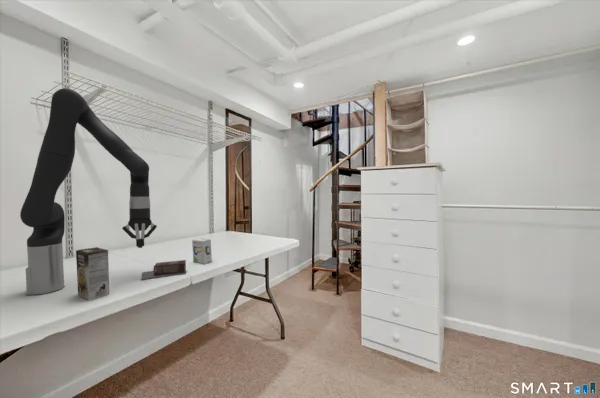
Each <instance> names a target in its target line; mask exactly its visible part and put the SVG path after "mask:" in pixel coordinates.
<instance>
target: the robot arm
mask: <svg viewBox="0 0 600 398" xmlns="http://www.w3.org/2000/svg"><path fill="white" fill-rule="evenodd" d="M50 102H51V103H50V110H49V112H50V113H49V119H48V124H47V127H46V129H45V133H44V136H43V140H42V143H41V146H40V148H39V153H38V157H37V160H36V161H37V162H36V165H35V169H34V173H33V177H32V179H31V184H30V188H29V189H28V192H27V194H26V197H25V198H24V202H23V204H22V207H21V210H20V215H19V217H20V220H21V222H22V223H23V224H24V225H25V226H27V227H30V228H33V230H32V233H31V235H29V236H28V238H27V239H26V249H27V250H26V253H27V267H26V268H25V284H26V296H30V295H31V296H32V295H35V296H36V295H37V296H38V295H44V294H49V293H53V292H56V291H58V290H61V289H64V287H65V277H64V276H65V274H64V273H65V270H64V269H65V268H64V253H63V252H64V251H63V249H64V248H63V237H64V236H65V235H64V234H65V227H66V225H65V224H66V223H65V219H66V218H65V211H64V208H63V207H62V205H61V204H60V203H58V202H56V201H55V198H56V195H57V192H58V190H59V188H60V186H61V185H62V183H63V182H64V181H65V179H66V178H67V177H68V175H69V174H70V172H71V170H72V167H73V163H74V159H75V154H76V137H75V136H76V128H77V124H78V125H80V126H81V127H82V128H83V129H85V130H86V131H87V132H88V133H89V134H91V136H92V137H93V138H94V139H95V140H96V141H97V142H98V143H99V145H101V146H102V147H103V149H104V150H106V151H107V152H108V153H109V154H110V155H111V156H112V157H113V158H115V159H116V160H117V161H118V162H120V163H121V164H122V165H123V166H124V167H125V168H126V169H127V170H128V171H129V176H130V185H129V207H128V209H129V210H128V211H129V220H128V222H127V224H126V225H124V226H123V227H122V228H121V229H122V230H123V232H125V233H126V234H127V235H128V236H129V237H130V238H131V239H135V240H136V241H135V242H136V243H135V245H136V247H137V248H138V249H142V248H143V247H144V246H145V239H146V238H149V237H150V235H152V233H153V232H154V231H155V230H156V228H157V227H158V226H157V224H154V223H153V222H152V220H151V198H150V186H149V182H150V181H149V175H150V173H149V172H150V166H149V164H148V163H147V162H146V161H145V159H143V158H142V157H141V156H140V155H139V154H137V153H136V152H135V151H134V150H133V149H132V148H131V147H130V146H129V145H128V144H127V143H126V142H125V141H124V140H123V139H122V138H121V137H120V136H119V135H118V134H116V133H115V131H113V130H111V129H110V128H109V127H108V126H107V125H106V124H105V123H103V121H102V120H101V119H100V118H99V117H98V116H97V115H96V114H95V112H94V111H93V110H92V108H91V107H90V106H89V104H88V102H87V100H86V99H85V98H84V97H83V96H82V95H81V94H80V93H78V92H77V91H76V90H74V89H71V88H69V87H68V88H67V87H65V88H64V87H63V88H60V89H58V90H56V91H55V92H54V93H53V94H52V96H51V100H50ZM130 228H131V229H132V230H133V231H134V232H135V234H134V232H132V231H131V230H130ZM148 228H149V230H148ZM147 230H148V232H147V233H146V234H145V231H147ZM140 231H141V233H140Z"/></svg>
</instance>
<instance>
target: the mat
mask: <svg viewBox="0 0 600 398" xmlns="http://www.w3.org/2000/svg"><path fill="white" fill-rule="evenodd" d="M184 274H187V269H185V272H182V273H174V274H165V275H156V276H154V270H150V271H142V272H141V277H140V278H141V280H140V281H146V280H147V279H148V280H152V279H153V278H154V279H159V278H167V277H171V276H179V275H184Z"/></svg>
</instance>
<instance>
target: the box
mask: <svg viewBox="0 0 600 398" xmlns="http://www.w3.org/2000/svg"><path fill="white" fill-rule="evenodd" d="M186 264H187V263H186V260H185V259H181V260H174V261H173V260H171V261H163V262H162V261H160V262H156V263H155V264H154V265H153V269H152V270H153V271H154V276H156V275H165V274H174V273H182V272H185V270H187V269H186V268H187V267H186V266H187V265H186Z"/></svg>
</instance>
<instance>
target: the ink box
mask: <svg viewBox="0 0 600 398" xmlns="http://www.w3.org/2000/svg"><path fill="white" fill-rule="evenodd" d="M211 241H212V239H209V238H203V237H198V238H196V239H192V241H191V243H192V261H193V263H195V264H196V263H197V264H202V265H206V264H208V263H212V262H213V258H212V257H213V256H212V242H211Z"/></svg>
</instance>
